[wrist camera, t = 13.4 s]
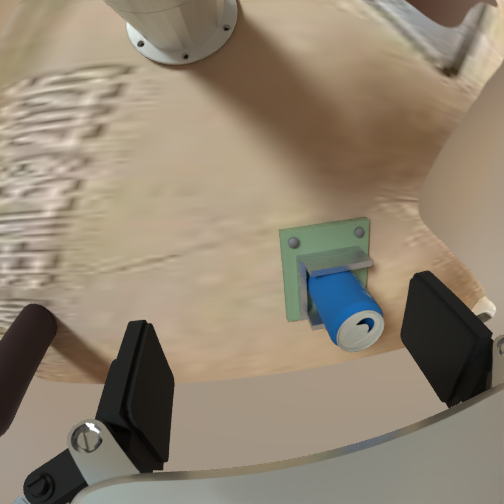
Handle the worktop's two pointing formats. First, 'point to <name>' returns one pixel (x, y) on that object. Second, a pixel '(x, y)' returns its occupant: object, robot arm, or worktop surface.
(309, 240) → the deck plate
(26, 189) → the worktop surface
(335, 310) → the beverage can
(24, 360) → the wine bottle
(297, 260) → the bracket
